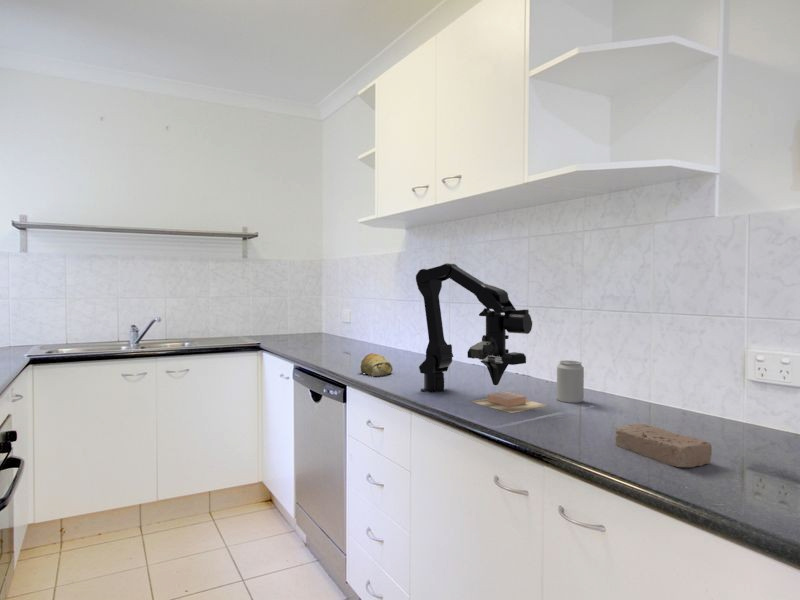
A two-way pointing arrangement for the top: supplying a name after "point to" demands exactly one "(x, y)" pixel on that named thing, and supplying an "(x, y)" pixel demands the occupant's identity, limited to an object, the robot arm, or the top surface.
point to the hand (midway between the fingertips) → (495, 385)
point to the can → (570, 381)
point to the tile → (507, 399)
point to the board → (511, 409)
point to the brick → (663, 445)
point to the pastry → (375, 365)
